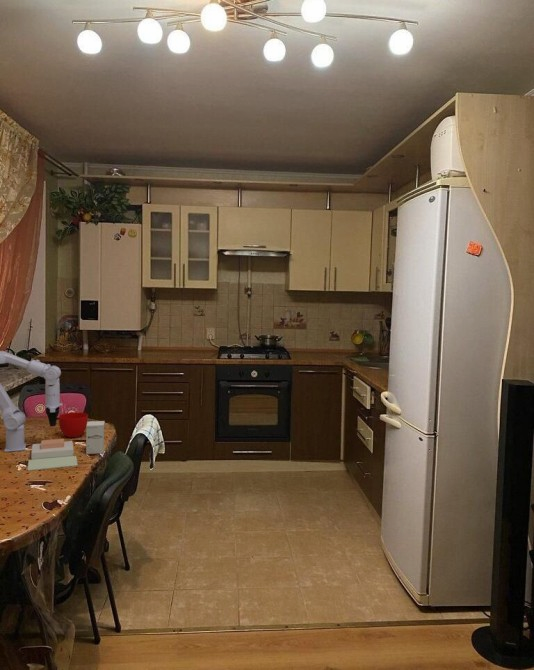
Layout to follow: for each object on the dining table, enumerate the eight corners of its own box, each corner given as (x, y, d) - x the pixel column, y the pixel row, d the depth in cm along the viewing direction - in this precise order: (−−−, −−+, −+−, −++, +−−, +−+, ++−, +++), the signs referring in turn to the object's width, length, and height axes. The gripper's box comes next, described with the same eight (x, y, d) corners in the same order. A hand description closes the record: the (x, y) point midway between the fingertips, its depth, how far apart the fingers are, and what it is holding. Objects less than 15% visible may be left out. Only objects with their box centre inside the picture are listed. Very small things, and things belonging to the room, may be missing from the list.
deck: (32, 450, 218) (32, 444, 218) (72, 447, 224) (72, 440, 224) (31, 460, 206) (31, 453, 206) (73, 456, 213) (73, 449, 212)
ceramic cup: (95, 431, 252) (95, 411, 251) (80, 440, 235) (80, 419, 234) (70, 429, 253) (70, 409, 252) (53, 439, 236) (53, 418, 235)
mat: (28, 461, 205) (28, 460, 205) (76, 456, 212) (76, 455, 212) (27, 470, 194) (27, 469, 194) (77, 465, 201) (77, 465, 201)
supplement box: (85, 454, 216) (85, 425, 215) (87, 449, 223) (87, 421, 222) (104, 453, 218) (104, 424, 217) (104, 448, 225) (104, 420, 224)
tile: (41, 445, 217) (41, 440, 217) (64, 443, 221) (64, 438, 220) (41, 449, 212) (41, 444, 211) (64, 447, 215) (64, 442, 215)
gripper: (62, 397, 216) (62, 428, 217) (62, 390, 229) (62, 420, 230) (44, 397, 213) (44, 429, 214) (45, 391, 226) (45, 421, 227)
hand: (52, 425), depth 222 cm, fingers open, 3 cm apart
